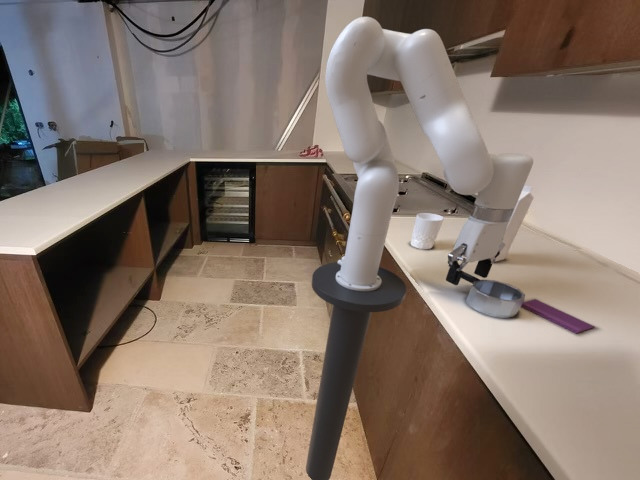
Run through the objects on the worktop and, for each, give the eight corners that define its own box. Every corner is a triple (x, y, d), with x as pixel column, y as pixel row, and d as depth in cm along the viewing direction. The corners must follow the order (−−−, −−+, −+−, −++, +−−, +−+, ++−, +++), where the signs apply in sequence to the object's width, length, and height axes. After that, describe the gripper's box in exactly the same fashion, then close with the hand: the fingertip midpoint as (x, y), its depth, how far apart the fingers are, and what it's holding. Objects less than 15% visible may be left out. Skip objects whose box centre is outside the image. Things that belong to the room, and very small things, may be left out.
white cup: (406, 246, 108) (414, 217, 103) (411, 239, 114) (419, 211, 108) (432, 251, 104) (442, 222, 99) (435, 244, 110) (445, 215, 105)
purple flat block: (517, 304, 77) (518, 302, 77) (534, 300, 79) (535, 298, 79) (576, 333, 68) (577, 331, 68) (594, 327, 70) (595, 325, 69)
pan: (440, 290, 84) (445, 274, 81) (468, 283, 87) (474, 268, 84) (495, 321, 72) (504, 304, 69) (526, 312, 75) (536, 295, 72)
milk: (485, 252, 104) (516, 181, 92) (505, 259, 99) (539, 185, 87) (472, 255, 102) (502, 183, 90) (492, 262, 97) (525, 187, 85)
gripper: (501, 204, 79) (477, 267, 88) (448, 213, 74) (427, 279, 83) (534, 212, 73) (504, 279, 82) (478, 223, 68) (453, 292, 77)
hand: (466, 279), depth 82 cm, fingers open, 9 cm apart
